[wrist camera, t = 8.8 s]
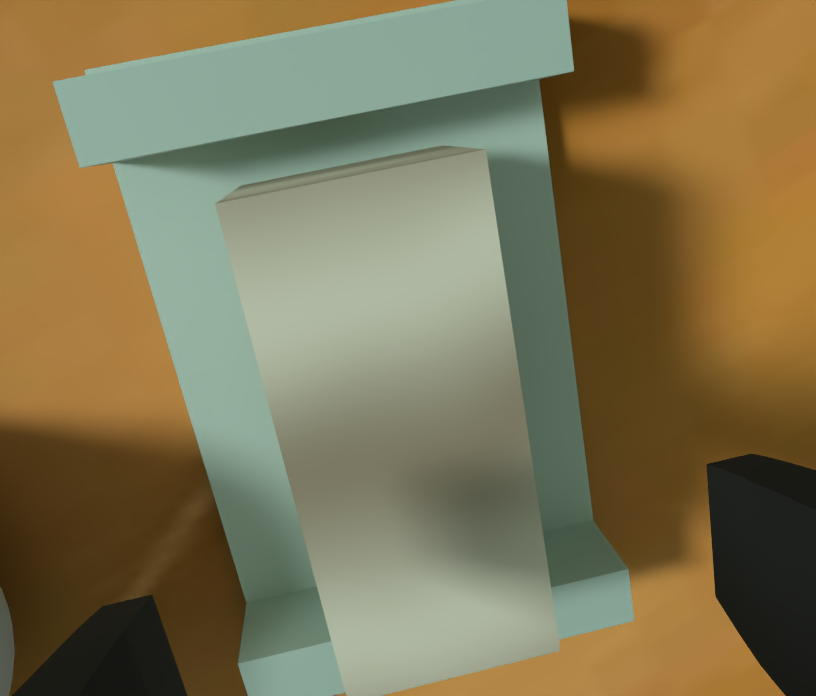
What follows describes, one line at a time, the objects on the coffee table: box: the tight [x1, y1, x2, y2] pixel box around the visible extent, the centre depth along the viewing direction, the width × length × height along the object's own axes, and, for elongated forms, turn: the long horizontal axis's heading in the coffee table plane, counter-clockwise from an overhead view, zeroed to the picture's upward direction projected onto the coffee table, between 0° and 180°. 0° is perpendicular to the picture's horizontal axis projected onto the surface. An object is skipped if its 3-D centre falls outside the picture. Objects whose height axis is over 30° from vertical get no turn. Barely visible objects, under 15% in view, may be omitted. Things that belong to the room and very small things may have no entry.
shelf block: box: [215, 145, 561, 696], centre depth 15 cm, size 10×4×4 cm, turn 11°
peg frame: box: [53, 0, 634, 696], centre depth 18 cm, size 16×10×3 cm, turn 11°
